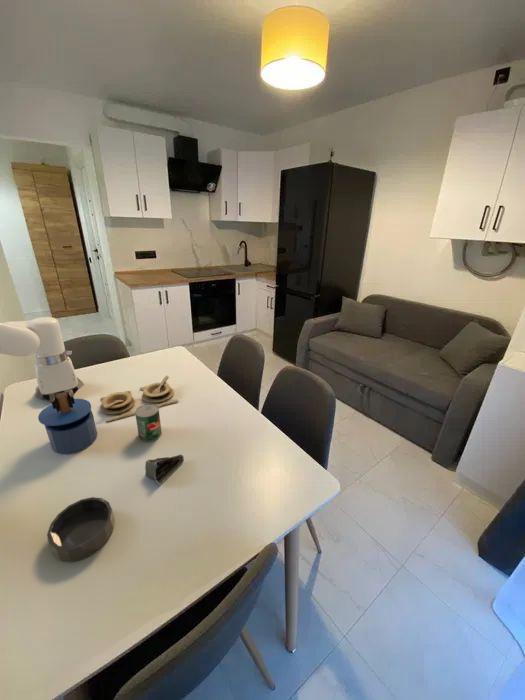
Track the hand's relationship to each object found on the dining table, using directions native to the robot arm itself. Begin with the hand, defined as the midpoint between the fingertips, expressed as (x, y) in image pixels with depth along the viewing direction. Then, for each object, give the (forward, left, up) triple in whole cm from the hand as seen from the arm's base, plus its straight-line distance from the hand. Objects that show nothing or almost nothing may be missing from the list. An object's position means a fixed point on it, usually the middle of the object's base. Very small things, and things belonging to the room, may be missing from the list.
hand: (64, 407), depth 96 cm
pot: (0, 0, -14) cm, 14 cm away
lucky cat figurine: (-15, +35, -14) cm, 41 cm away
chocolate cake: (+29, -22, -14) cm, 39 cm away
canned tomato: (+25, -4, -14) cm, 29 cm away
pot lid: (0, 0, -2) cm, 2 cm away
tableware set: (+20, +20, -14) cm, 32 cm away
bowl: (+10, -38, -14) cm, 42 cm away
